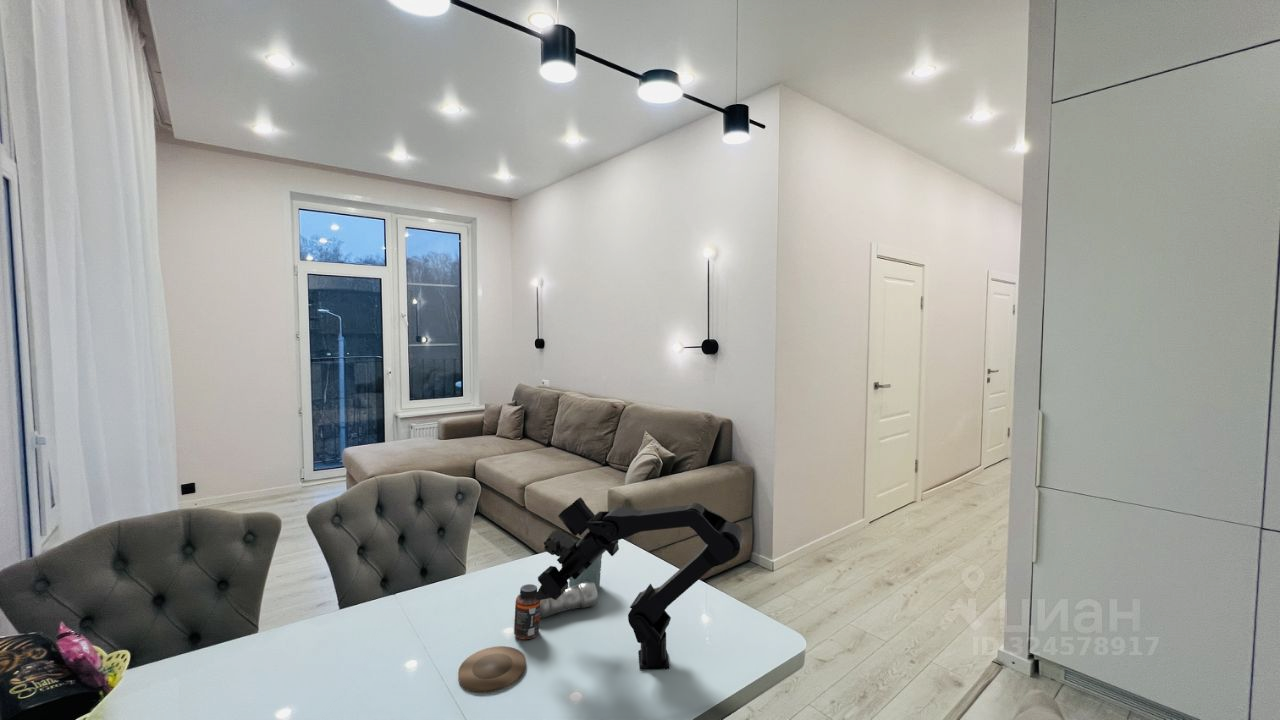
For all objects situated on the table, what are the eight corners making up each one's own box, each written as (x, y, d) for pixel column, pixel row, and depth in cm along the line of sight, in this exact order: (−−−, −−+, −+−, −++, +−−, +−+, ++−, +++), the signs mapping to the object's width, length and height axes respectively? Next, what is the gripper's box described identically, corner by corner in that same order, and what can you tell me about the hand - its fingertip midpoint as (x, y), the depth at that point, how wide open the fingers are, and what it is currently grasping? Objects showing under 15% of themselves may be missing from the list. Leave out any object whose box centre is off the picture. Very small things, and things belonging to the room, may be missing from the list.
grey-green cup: (565, 582, 150) (564, 542, 150) (598, 577, 153) (598, 538, 153) (570, 599, 141) (570, 556, 140) (606, 593, 144) (606, 551, 143)
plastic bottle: (591, 579, 142) (518, 594, 134) (598, 579, 137) (522, 595, 129) (594, 604, 140) (520, 621, 132) (601, 605, 134) (525, 623, 126)
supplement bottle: (538, 640, 122) (540, 593, 122) (512, 641, 121) (514, 593, 121) (539, 626, 128) (541, 581, 127) (515, 627, 127) (517, 582, 127)
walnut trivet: (519, 691, 104) (519, 686, 104) (449, 694, 104) (449, 689, 104) (530, 649, 118) (530, 644, 118) (469, 651, 118) (468, 647, 118)
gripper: (582, 509, 128) (544, 547, 132) (545, 537, 110) (502, 579, 115) (612, 544, 126) (572, 581, 130) (578, 578, 108) (533, 620, 112)
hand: (546, 589), depth 122 cm, fingers open, 9 cm apart
